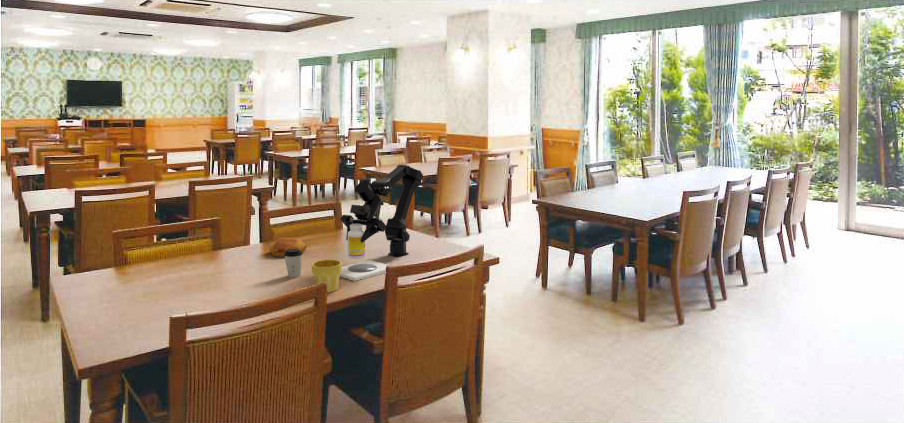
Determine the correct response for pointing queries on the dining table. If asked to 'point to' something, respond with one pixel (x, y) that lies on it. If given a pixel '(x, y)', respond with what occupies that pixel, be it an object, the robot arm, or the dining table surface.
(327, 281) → the plant pot
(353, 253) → the supplement bottle
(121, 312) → the dining table surface
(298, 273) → the coffee cup
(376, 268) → the mount base
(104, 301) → the dining table surface
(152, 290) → the dining table surface
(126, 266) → the dining table surface
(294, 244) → the croissant
